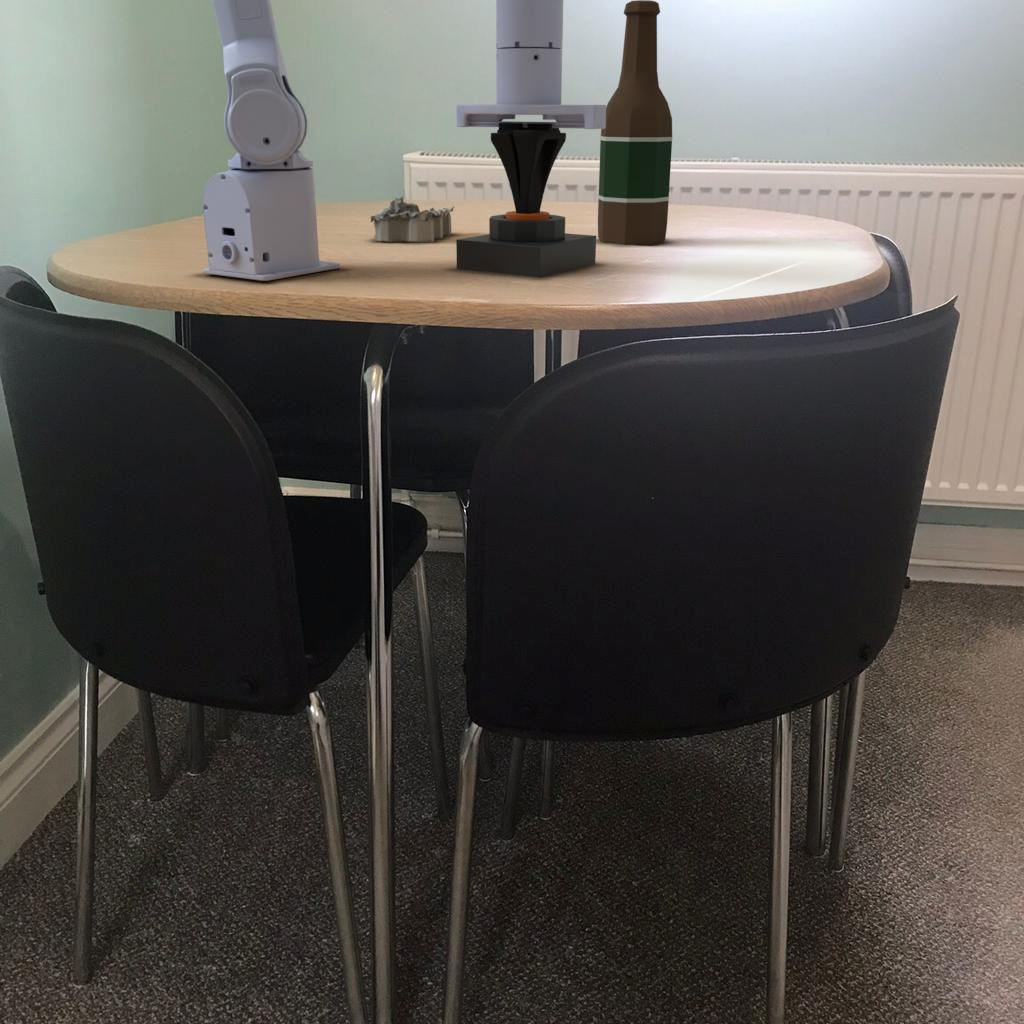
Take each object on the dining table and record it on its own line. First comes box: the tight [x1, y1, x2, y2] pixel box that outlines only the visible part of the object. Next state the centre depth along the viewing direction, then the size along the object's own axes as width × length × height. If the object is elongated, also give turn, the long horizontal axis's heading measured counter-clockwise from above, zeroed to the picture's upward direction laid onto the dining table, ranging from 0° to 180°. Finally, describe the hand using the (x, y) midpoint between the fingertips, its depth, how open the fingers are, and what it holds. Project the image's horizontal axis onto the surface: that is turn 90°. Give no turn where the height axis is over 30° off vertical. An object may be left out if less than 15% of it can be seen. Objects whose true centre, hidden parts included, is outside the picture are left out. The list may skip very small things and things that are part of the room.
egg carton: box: [369, 196, 455, 243], centre depth 115 cm, size 11×8×4 cm
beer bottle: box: [597, 0, 673, 246], centre depth 108 cm, size 8×8×24 cm
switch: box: [505, 210, 550, 220], centre depth 93 cm, size 4×4×2 cm
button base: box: [455, 213, 597, 279], centre depth 94 cm, size 10×9×4 cm
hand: (527, 213), depth 93 cm, fingers closed, pressing on switch
